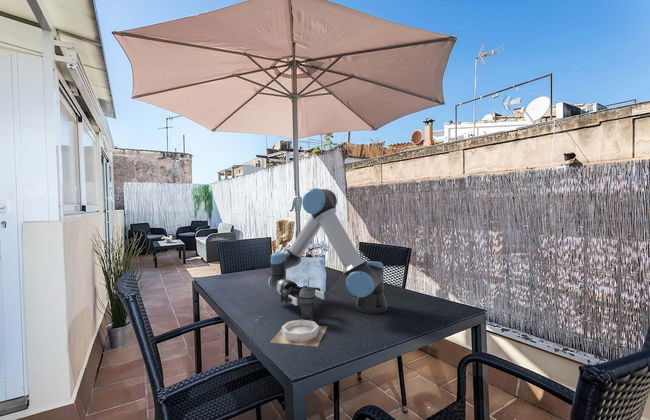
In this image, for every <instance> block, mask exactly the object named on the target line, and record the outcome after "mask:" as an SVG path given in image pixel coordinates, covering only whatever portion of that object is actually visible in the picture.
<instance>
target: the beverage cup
mask: <svg viewBox="0 0 650 420" xmlns="http://www.w3.org/2000/svg"><path fill="white" fill-rule="evenodd" d="M307 286H308V287H303V288H302V289H301V290H300V293H299V295H298V299H299V304H300V315H301V320H309V321H314V310H315V300H316V296H315V292H314V290H313V289H312V288H311V287H312V286H310V276H308V278H307Z"/></svg>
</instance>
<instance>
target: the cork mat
mask: <svg viewBox="0 0 650 420" xmlns="http://www.w3.org/2000/svg"><path fill="white" fill-rule="evenodd" d="M318 326H319V332H318V335H317V336H316V337H315V338H314V339H312V340H309V341H304V342H293V341H289V340H286V339H285V338H284V337H283V333H282V328H281V329H280V330H279V331H278V332H277V334H276V335H275V336H274V337H273V338H272V339H271V340H270V342H269V343H273V344H281V345H282V344H283V345H284V344H285V345H294V346H306V347H316V348H317V347H319V344H320V342H321V340H322V338H323V336H324V334H325V333H326V331H327V328H328V326H323V325H318Z"/></svg>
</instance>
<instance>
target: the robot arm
mask: <svg viewBox="0 0 650 420" xmlns="http://www.w3.org/2000/svg"><path fill="white" fill-rule="evenodd" d="M301 204H302V207H303V210H304V211H305V212H306V213H308V214H309V215H310V216H309V218H308V219H307V222H306V223H305V225H304V226H303V228H302V229H301V231H300V232H299V234H298V235H297V237H296V239H295V240H294V242H293V244H292V245H291V246H290V249H289V250H288V251H287V253H285V252H282V251H280V252H273V253H271V255H270V277H269V278H268V281H267V284H268V286H269V288H270V289H271V290H273V291H274V292H277V293H279V296H280V302H281V303H282V302H284V301H285V302H284V303H285V304H288V303H290V304H292V305H293V306H298V298H297V297H295V296H299V293H300V290H301V289H302V288H303V287H308V285H303V287H299V286H297V284H296V283H295V282H296V281H293V280H291V279H287V270H288V269H290V268H293V267H297V266H298V265H300V263H301V262H302V256H303V255H304V254H305V252H306V250H307V249H308V247H309V246H310V244H311V243H312V241H313V239H314V238H315V236H316V235H317V233H318V232H319V230H320V229H321V228H322V230H323V232H324V233H325V236H326V237H327V239H328V241H329V242H330V244H331V246H332V248H333V250H334V252H335V253H336V255H337V257H338V259H339V261H340V263H341V265H342V266H343V272H342V274H343V275H344V277H345V279H346V280H345V285H346V289H347V291H348V292H349V293H350V294H351V295H352V296H354V297H357V300H356V303H355V310H357V311H359V312H361V313H365V314H370V315H371V314H376V315H377V314H382V313H385V312H386V311H388V302H387V300H386V297H385V293H384V270H385V269H384V264H383V262H381V261H372V260H371V261H370V260H369V261H368V260H366V259H362V258H361V256H360V255H359V253H358V251H357V249H356V247H355V246H354V245H353V242H352V240H351V239H350V237H349V235H348V234H347V231H346V230H345V228H344V227H343V224H342V222H341V221H340V220H339V218H338V216H337V214H336V212H337V208H336V207H337V204H338V199H337V196H336V194H335V192H333V191H332V190H330V189H328V188H327V189H326V188H325V189H324V188H318V187H317V188H311V189H308V190H306V192H305V193H304V194H303V197H302V200H301ZM310 287H311V288H312V289H313V290H314V292H315V298H316V297H317V298H318V299H319V298H320V300H325V292H324V291H321V288H320V287H314V286H310Z"/></svg>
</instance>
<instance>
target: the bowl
mask: <svg viewBox="0 0 650 420" xmlns="http://www.w3.org/2000/svg"><path fill="white" fill-rule="evenodd" d="M319 326H320V325H319V324H317V322H316V321H314V320H313V321H309V320H302V319H297V320H290V321H287V322H286V323H284V324H283V325H282V326H281V329H282V333H283V337H284V338H285V339H286V340H289V341H293V342H304V341H309V340H312V339H314V338H315V337H316V336H317V335H318V332H319Z"/></svg>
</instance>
